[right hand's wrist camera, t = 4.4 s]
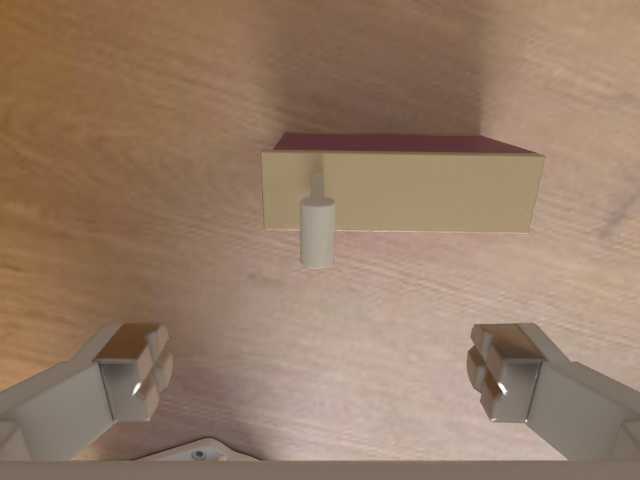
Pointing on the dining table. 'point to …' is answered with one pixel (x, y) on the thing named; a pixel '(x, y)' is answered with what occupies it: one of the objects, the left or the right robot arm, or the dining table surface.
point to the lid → (395, 194)
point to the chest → (394, 143)
